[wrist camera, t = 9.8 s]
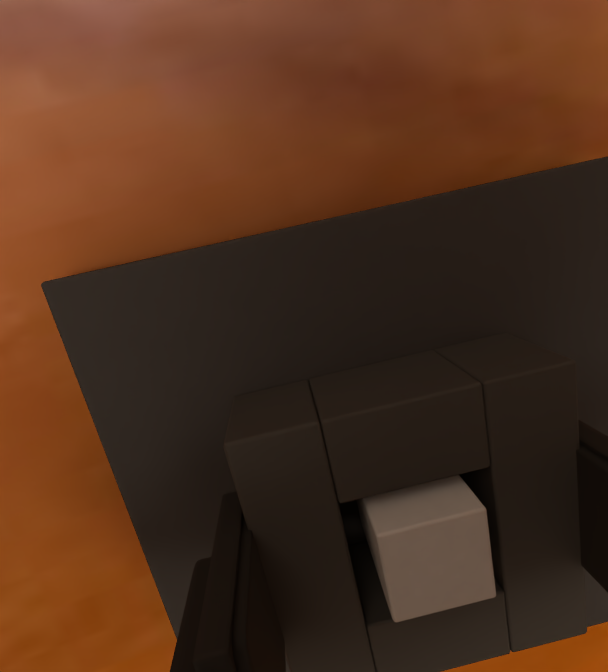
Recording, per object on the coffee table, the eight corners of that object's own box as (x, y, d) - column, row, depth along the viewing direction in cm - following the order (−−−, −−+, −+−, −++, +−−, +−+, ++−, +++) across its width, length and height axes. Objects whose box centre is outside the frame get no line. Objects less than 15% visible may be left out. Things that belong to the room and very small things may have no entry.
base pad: (71, 276, 10) (-77, 303, 6) (587, 162, 11) (809, 107, 6) (215, 674, 14) (190, 878, 9) (600, 576, 14) (749, 726, 10)
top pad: (232, 395, 10) (221, 444, 7) (505, 331, 10) (577, 359, 8) (294, 614, 11) (301, 709, 9) (524, 555, 12) (588, 634, 9)
